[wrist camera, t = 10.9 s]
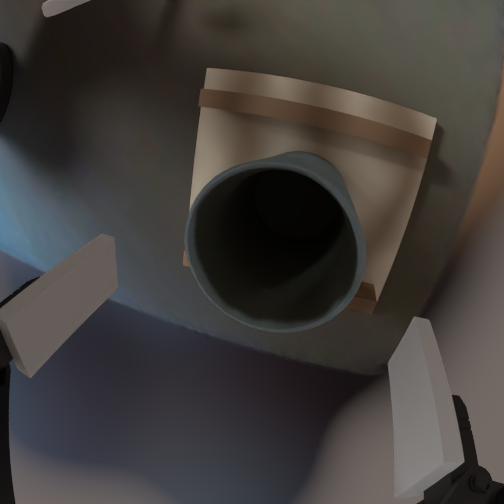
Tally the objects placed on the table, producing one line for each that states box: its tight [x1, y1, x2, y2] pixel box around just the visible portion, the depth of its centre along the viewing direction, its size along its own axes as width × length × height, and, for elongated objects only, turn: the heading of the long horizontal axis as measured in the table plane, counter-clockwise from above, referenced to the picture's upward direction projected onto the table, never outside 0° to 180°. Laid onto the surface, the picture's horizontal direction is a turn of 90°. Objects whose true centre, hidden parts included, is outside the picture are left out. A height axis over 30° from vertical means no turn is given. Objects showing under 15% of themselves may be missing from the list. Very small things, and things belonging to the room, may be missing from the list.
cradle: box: [183, 68, 437, 315], centre depth 26 cm, size 20×20×4 cm
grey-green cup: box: [184, 151, 366, 333], centre depth 22 cm, size 10×10×12 cm
